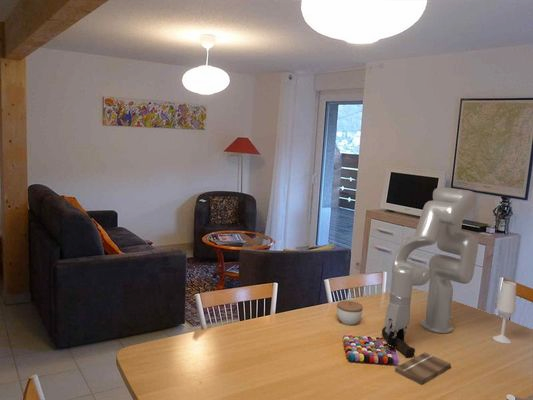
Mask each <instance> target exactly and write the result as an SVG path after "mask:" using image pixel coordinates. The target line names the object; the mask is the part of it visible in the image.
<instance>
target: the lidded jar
mask: <svg viewBox="0 0 533 400" xmlns="http://www.w3.org/2000/svg"><path fill="white" fill-rule="evenodd" d="M336 306H337V307H336V313H337V317H338V319H339V320H340V322H341V324H343V325H346V326H355V325H356V324H357V323H358V322H360V320H361V317H362V314H363V307H364V306H363V305H362V303H360V302H357V301H355V300H340V301H338V302H337V303H336Z"/></svg>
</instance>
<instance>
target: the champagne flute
mask: <svg viewBox="0 0 533 400" xmlns="http://www.w3.org/2000/svg"><path fill="white" fill-rule="evenodd" d="M516 300H517V283H516V282H513V281H508V280H505V281H504V280H503V281H502V284H501V289H500V293H499V297H498V299H497V304H496V309H497V312H498V313H499V314H500V316H502V324H501V332H500V334H498V335H495V336H492V339H493V340H494V341H496V342H498V343H501V344H511V343H512V341H511V339H509V338H508V337H506V336H505V330H506V324H507V318H509V317H511V316H513V315H514V314H515V313H516V305H517V304H516V303H517V301H516Z"/></svg>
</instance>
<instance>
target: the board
mask: <svg viewBox="0 0 533 400" xmlns="http://www.w3.org/2000/svg"><path fill="white" fill-rule="evenodd" d="M451 365H452V364H451V363H450V362H448V361H446V360H444V359H441V358H439V357H436V356H435V355H433V354H429V353H428V352H423V353H421V354H419V355H417V356H415V357H412V358H410V359H409V360H407V361H406V362H404V363H401V364H399V365H397V366H396V367H395V368H394V373H397V374H398V375H401V376H403V377H405V378H407V379H409V380H410V381H413V382H415V383H417V384H420V385H423V384H425V383H427V382H429V381H430V380H432V379H433V378H436V377H437V376H438V375H439V376H440V375H441V374H442V373H444V372H445V371H447V370H449V369H451Z"/></svg>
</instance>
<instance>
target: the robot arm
mask: <svg viewBox="0 0 533 400" xmlns="http://www.w3.org/2000/svg"><path fill="white" fill-rule="evenodd" d="M477 204H478V197H477V194H476V193H475V192H474V191H472V190H467V189H461V188H453V187H445V186H441V187H440V186H439V187H437V188H434V190H433V192H432V200H428V201H427V202H425V203H424V206H423V208H422V211H421V214H420V217H419V220H418V222H417V226H416V229H415V232H414V235H413V236H412V237H410V238H408V239H407V240H406V241H405V242H403V244H402V245H401V246H400V247H399V248H398V250H397V251H396V254H395V257H394V259H393V263H392V267H391V283H390V284H391V285H390V293H389V294H390V295H389V302H388V304H387V308H386V314H385V319H384V327H386V329H385V332H386V333H387V334H388V342H387V345H388V344H389V345H391V346H393V347H394V348H393V349H395V348H396V338H395V337H396V336H397V337H398V338H399V339H401V340H402V341H403V342H405V335H406V332H407V331H406V330H407V329H408V326H409V325H410V318H411V302H412V301H411V300H412V294H413V293H412V291H413V287H415V286H420V287H421V286H423V285H425V284H427V283H429V284H428V291H427V292H428V293H427V301H426V302H427V304H426V311H425V319H422V320H421V322H420V325H421V327H422V328H423V329H425V330H427V331H429V332H432V333H437V334H449V333H451V332H452V331H453V328H454V327H453V326H452V325H451V324H450V321H451V320H453V319H454V317H453V315H451V311H452V302H453V295H454V294H453V293H454V287H453V283H452V282H456V283H459V284H463V285H465V284H466V285H467V284H469V283H471V281H472V279H473V277H474V273H475V269H476V262H477V257H478V251H479V250H478V249H479V241H478V238H477V237H476V236H475V235H474V234H472V233H468V232H464V231H462V227H463V226H462V225H463V221H464V220H465V219H466V218H467V217H468V216H469V215H470V214H471V213H472V212H473V211H474V210H475V208H476V207H477ZM435 244H436V248H437V249H438V250H439V251H442V252H445V253H448V254H453V255H457V256H460V258H458V257H454V256H451V255H446V254H442V253H440V254H439V253H438V254H434V255H432V256H431V258H430V259H429V261H428V268H427V267H426V266H423V265H420V264H416V263H414V262H410V261H407V259H408V258H409V256H410V254H411V253H412V252H413V251H415V250H416V249H419V248H423V247H426V246H432V245H435ZM391 331H393V332H394V333H392V332H391Z"/></svg>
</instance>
